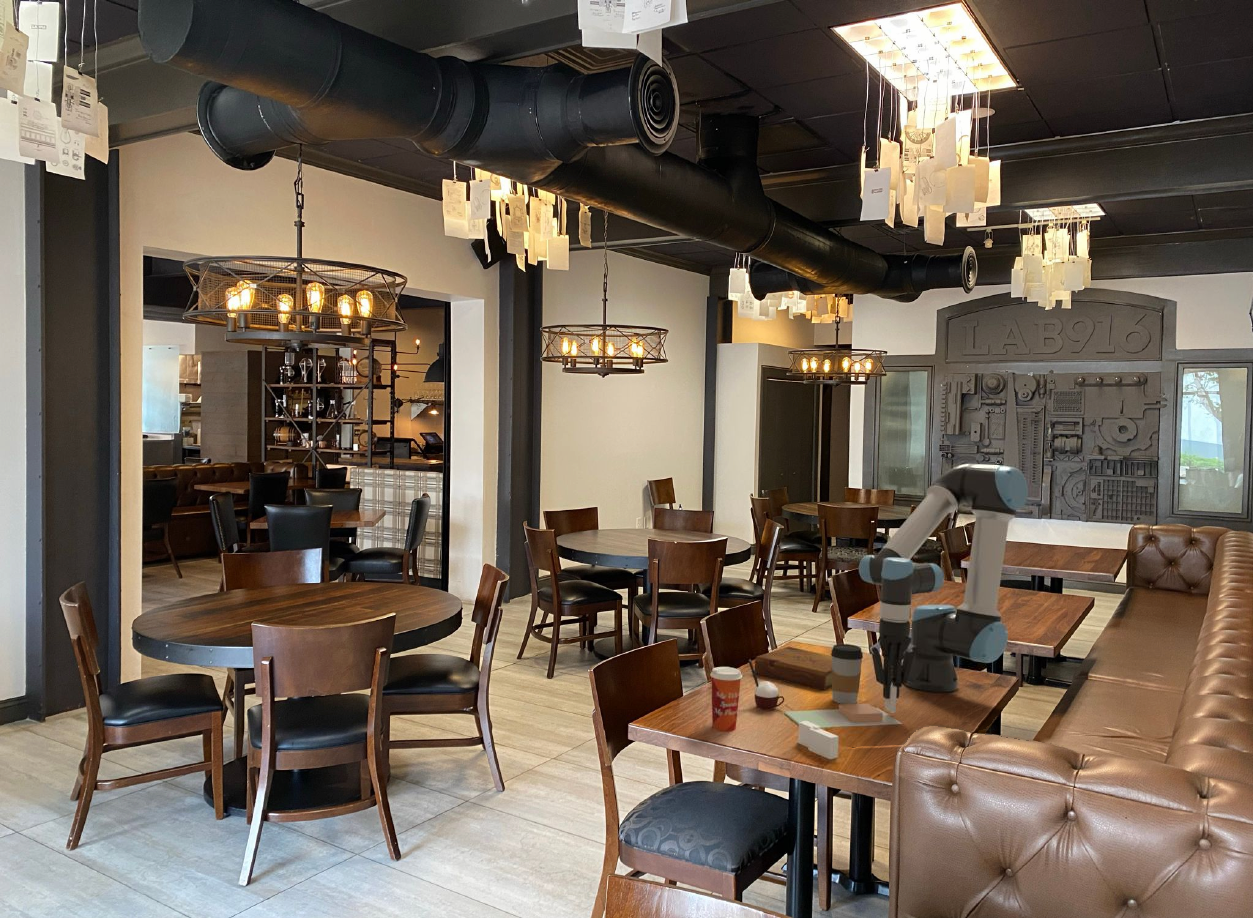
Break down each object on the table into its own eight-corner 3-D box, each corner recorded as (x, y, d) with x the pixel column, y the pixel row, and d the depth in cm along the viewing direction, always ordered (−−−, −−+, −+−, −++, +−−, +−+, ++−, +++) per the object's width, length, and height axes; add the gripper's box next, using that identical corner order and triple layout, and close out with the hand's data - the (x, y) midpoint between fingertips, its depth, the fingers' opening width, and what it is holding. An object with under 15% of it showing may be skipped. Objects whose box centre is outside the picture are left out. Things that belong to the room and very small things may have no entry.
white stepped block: (847, 764, 212) (848, 739, 212) (795, 761, 213) (796, 736, 213) (838, 741, 227) (839, 717, 227) (790, 738, 228) (791, 714, 228)
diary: (754, 676, 282) (754, 657, 282) (787, 665, 297) (788, 646, 296) (824, 692, 267) (824, 672, 267) (855, 679, 282) (856, 660, 281)
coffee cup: (861, 709, 252) (864, 652, 251) (828, 706, 253) (831, 649, 253) (860, 700, 260) (862, 645, 259) (828, 697, 262) (831, 642, 261)
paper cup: (715, 733, 228) (717, 675, 228) (703, 723, 236) (705, 666, 235) (745, 731, 231) (748, 674, 230) (733, 721, 238) (735, 665, 237)
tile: (867, 703, 248) (839, 704, 246) (882, 713, 241) (853, 714, 239) (867, 711, 248) (838, 712, 247) (882, 721, 241) (853, 722, 239)
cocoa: (785, 709, 250) (790, 664, 250) (774, 714, 245) (779, 668, 245) (752, 700, 256) (757, 656, 255) (741, 705, 251) (746, 660, 250)
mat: (876, 709, 252) (877, 707, 252) (902, 725, 239) (902, 723, 239) (784, 713, 246) (784, 711, 246) (804, 730, 233) (804, 728, 233)
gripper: (910, 615, 249) (905, 705, 251) (864, 616, 246) (859, 707, 247) (925, 622, 242) (921, 714, 243) (878, 622, 239) (874, 716, 240)
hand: (890, 710), depth 245 cm, fingers closed
